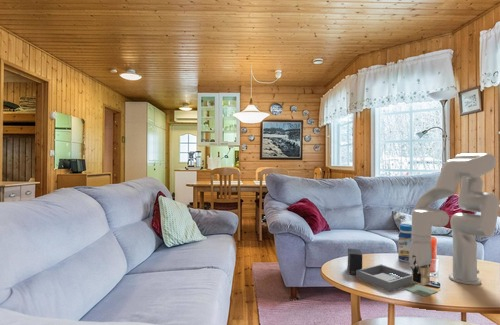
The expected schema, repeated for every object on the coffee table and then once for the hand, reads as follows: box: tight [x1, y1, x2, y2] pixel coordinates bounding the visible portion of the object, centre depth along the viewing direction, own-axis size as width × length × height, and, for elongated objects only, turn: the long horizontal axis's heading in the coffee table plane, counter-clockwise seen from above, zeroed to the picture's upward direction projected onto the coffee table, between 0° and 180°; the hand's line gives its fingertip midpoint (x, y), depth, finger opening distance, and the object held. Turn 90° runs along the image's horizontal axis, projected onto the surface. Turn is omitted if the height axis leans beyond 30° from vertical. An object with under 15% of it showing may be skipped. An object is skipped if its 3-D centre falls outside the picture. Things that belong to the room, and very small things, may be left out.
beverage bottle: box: [397, 223, 412, 263], centre depth 182 cm, size 8×8×20 cm
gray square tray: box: [355, 264, 415, 293], centre depth 150 cm, size 18×18×4 cm
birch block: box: [411, 264, 431, 286], centre depth 139 cm, size 5×5×7 cm
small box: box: [347, 248, 363, 276], centre depth 162 cm, size 11×6×10 cm, turn 168°
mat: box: [404, 283, 439, 298], centre depth 139 cm, size 10×9×1 cm
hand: (420, 280), depth 139 cm, fingers closed on birch block, 5 cm apart
